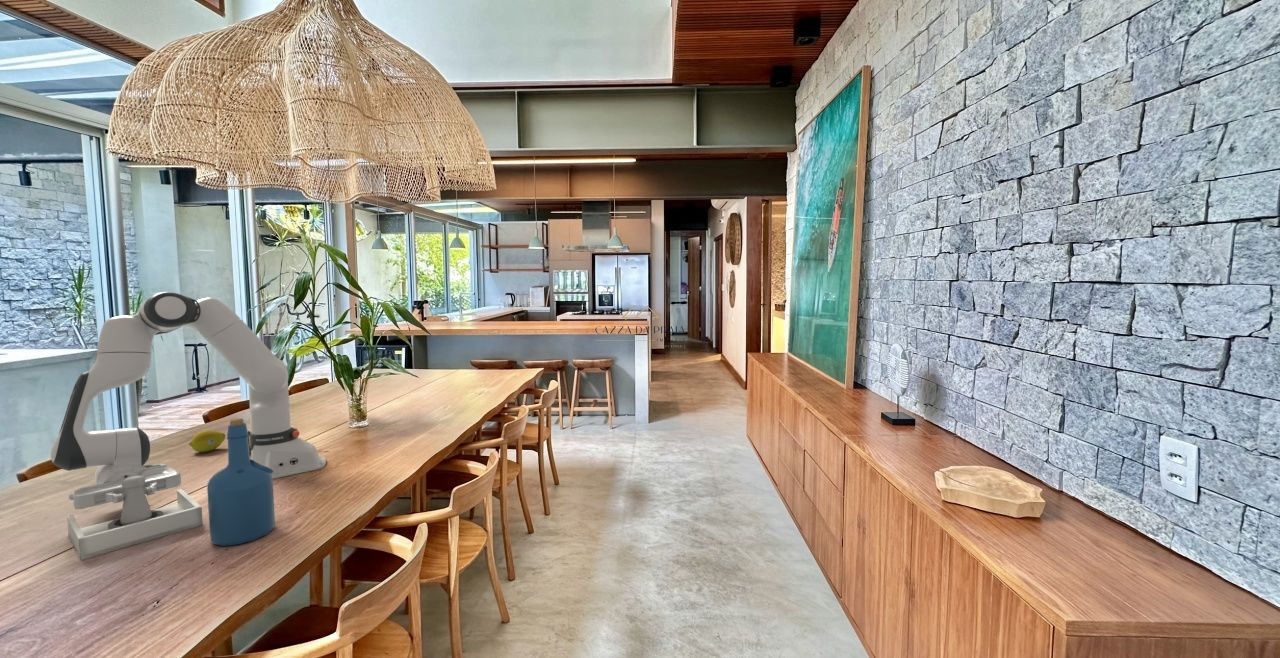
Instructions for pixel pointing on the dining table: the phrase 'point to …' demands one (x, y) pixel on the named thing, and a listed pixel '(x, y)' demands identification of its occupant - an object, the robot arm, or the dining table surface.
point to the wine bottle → (240, 494)
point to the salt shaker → (134, 501)
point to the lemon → (207, 441)
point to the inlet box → (135, 528)
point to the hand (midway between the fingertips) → (135, 495)
